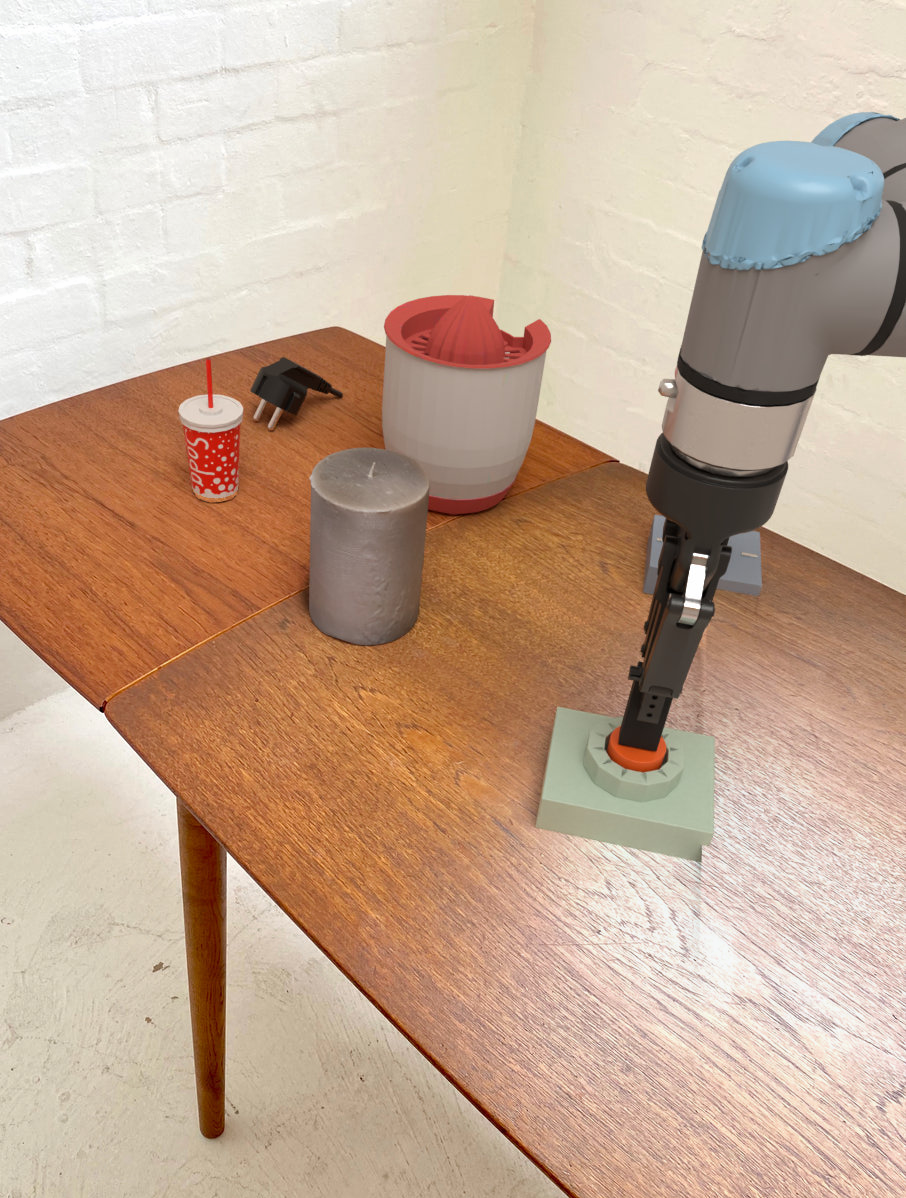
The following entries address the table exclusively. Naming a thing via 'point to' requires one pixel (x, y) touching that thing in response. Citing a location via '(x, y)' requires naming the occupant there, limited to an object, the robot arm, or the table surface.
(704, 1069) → the table surface
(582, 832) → the push button base
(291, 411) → the power plug
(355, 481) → the pillar candle
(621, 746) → the orange push button
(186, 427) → the beverage cup
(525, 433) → the citrus juicer
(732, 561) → the dial panel
